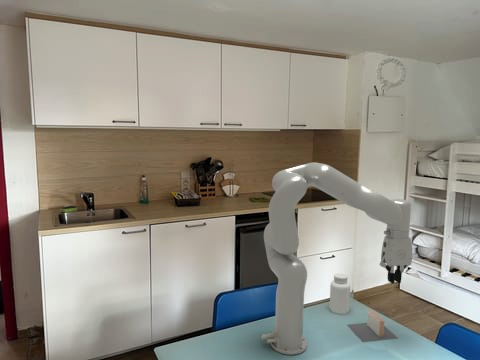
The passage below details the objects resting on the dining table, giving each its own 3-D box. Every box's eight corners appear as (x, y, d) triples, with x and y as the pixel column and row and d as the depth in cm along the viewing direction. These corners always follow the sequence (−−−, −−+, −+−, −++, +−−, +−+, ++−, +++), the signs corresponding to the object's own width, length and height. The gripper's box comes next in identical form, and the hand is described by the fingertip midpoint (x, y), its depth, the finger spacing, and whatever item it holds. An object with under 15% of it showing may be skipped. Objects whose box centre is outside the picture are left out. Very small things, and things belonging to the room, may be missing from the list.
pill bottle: (336, 303, 159) (338, 270, 157) (353, 311, 153) (355, 276, 151) (325, 309, 154) (326, 275, 152) (341, 317, 148) (343, 281, 146)
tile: (378, 337, 133) (379, 321, 132) (367, 325, 141) (367, 310, 140) (383, 336, 134) (384, 320, 133) (371, 325, 141) (372, 310, 141)
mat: (362, 343, 130) (362, 342, 130) (346, 325, 142) (346, 324, 141) (398, 339, 133) (398, 338, 133) (379, 322, 144) (379, 321, 144)
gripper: (383, 237, 128) (380, 287, 131) (423, 235, 132) (420, 284, 134) (372, 231, 136) (369, 279, 138) (410, 229, 139) (406, 276, 141)
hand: (394, 281), depth 136 cm, fingers closed
